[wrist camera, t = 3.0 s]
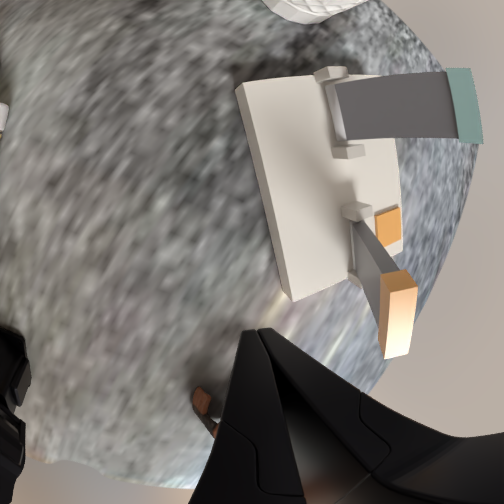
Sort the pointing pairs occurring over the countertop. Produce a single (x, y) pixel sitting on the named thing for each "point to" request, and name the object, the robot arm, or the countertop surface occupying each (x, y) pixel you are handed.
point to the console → (317, 180)
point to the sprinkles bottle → (3, 116)
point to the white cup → (309, 9)
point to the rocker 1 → (407, 107)
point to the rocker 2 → (384, 290)
